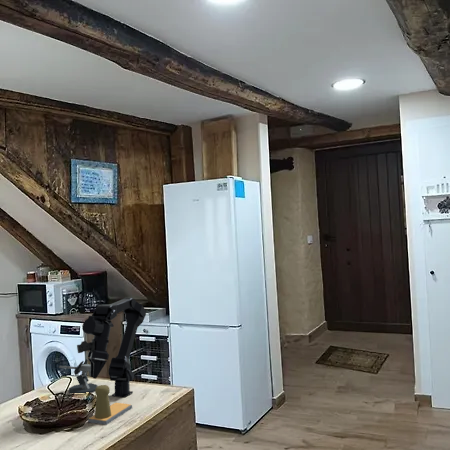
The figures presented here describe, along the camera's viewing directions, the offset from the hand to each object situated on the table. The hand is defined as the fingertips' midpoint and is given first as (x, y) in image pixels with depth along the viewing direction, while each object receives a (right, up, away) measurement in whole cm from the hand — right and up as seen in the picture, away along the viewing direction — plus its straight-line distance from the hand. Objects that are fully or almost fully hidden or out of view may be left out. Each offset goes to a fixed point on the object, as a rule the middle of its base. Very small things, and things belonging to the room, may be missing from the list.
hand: (93, 377), depth 198 cm
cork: (+6, -11, -9) cm, 16 cm away
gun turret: (-14, -13, +27) cm, 33 cm away
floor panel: (+8, -13, -4) cm, 15 cm away
